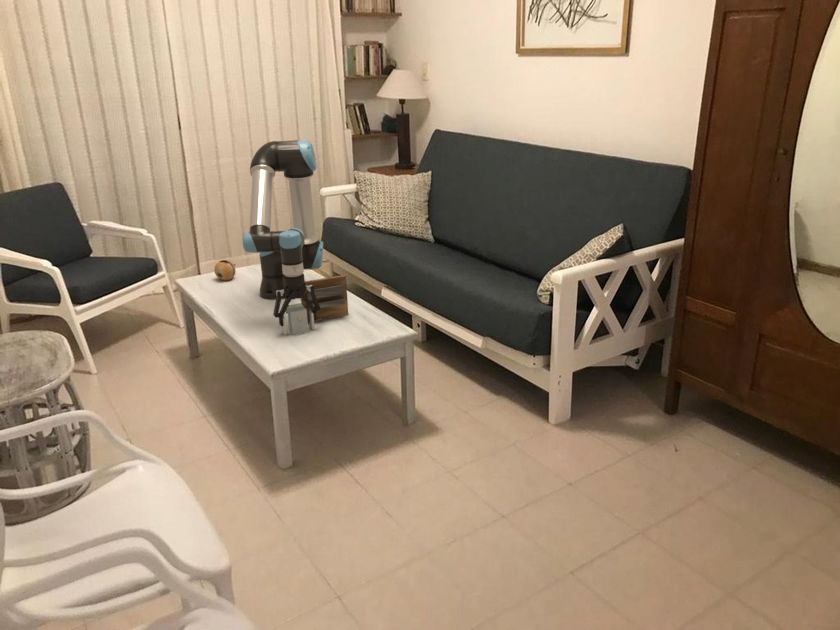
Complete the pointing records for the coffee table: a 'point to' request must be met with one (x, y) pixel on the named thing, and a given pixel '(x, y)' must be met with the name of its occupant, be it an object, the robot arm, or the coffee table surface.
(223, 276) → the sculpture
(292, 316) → the grey-green box
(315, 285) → the brown wooden rack
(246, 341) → the coffee table surface
